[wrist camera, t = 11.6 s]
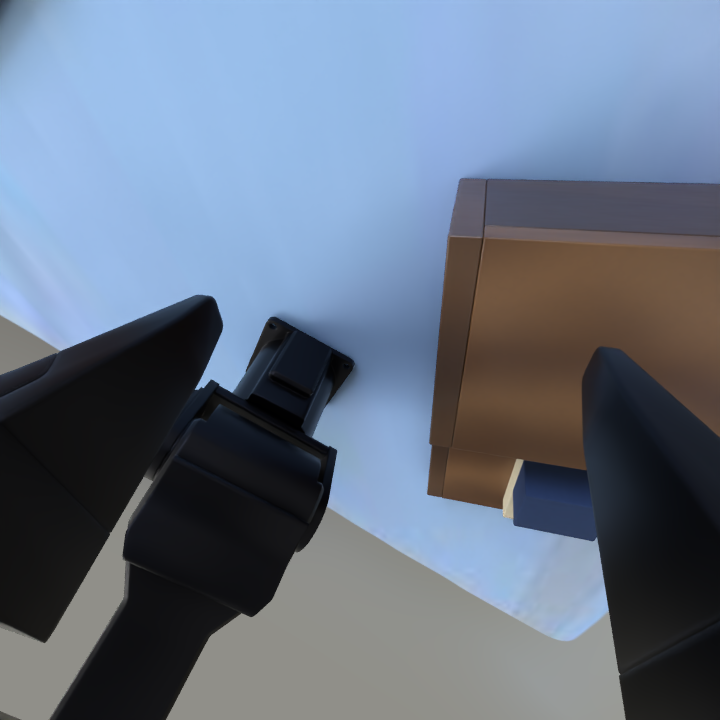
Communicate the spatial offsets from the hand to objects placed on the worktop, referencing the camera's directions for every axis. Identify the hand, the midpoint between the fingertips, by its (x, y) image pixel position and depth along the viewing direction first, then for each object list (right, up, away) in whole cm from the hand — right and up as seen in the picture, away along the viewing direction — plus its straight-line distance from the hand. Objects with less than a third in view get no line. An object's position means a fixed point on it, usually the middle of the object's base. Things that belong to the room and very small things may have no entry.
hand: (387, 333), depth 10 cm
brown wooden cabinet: (+12, -2, +15) cm, 20 cm away
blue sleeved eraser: (+12, -8, +18) cm, 23 cm away
